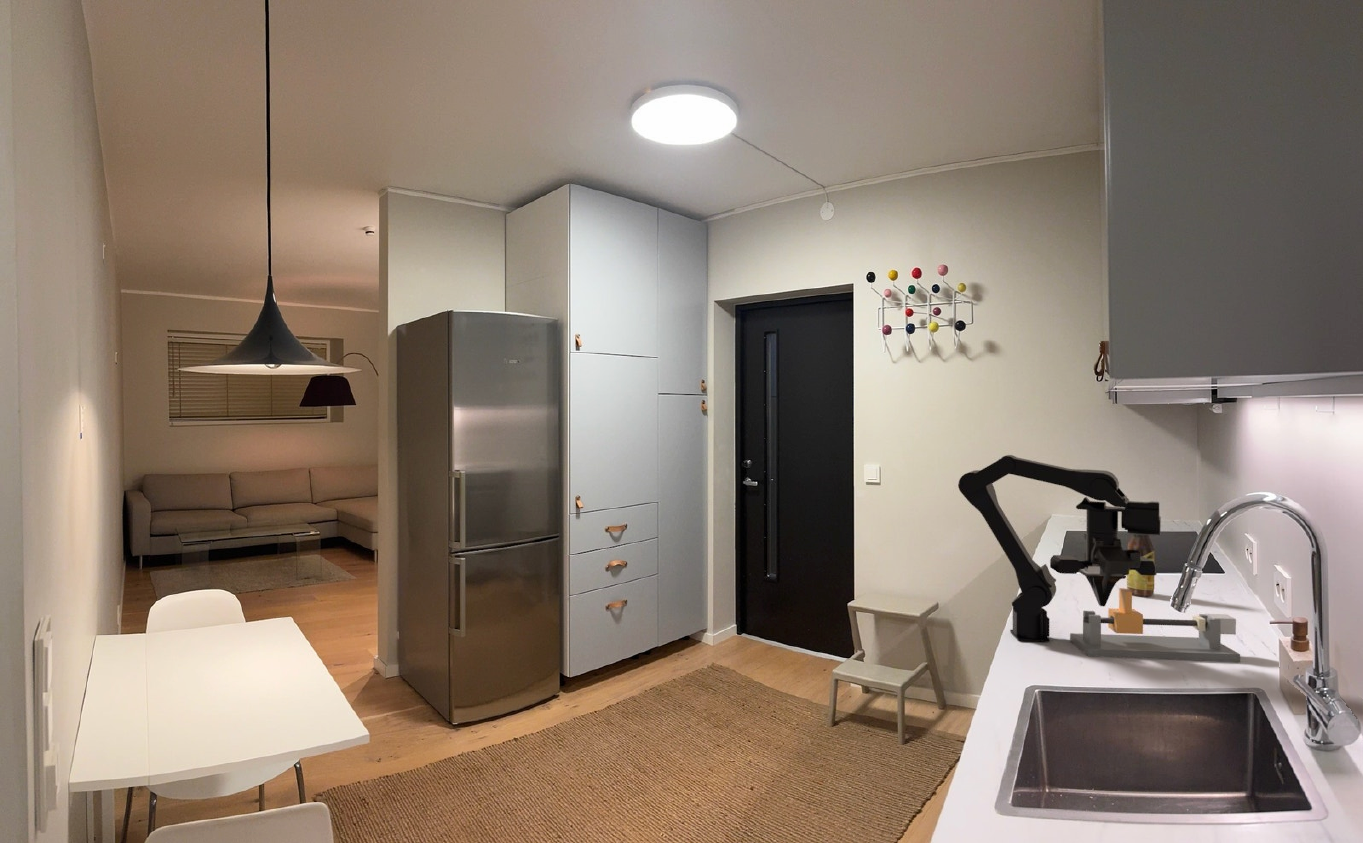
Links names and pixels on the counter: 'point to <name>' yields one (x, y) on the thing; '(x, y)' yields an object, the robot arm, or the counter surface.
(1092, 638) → the stand
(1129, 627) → the orange slider block
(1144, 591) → the sauce bottle
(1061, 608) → the counter surface
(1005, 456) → the robot arm
